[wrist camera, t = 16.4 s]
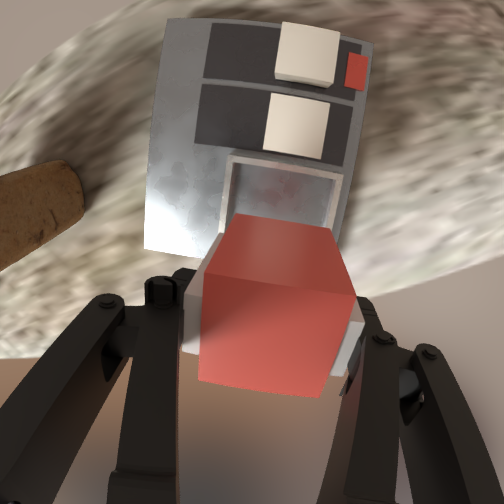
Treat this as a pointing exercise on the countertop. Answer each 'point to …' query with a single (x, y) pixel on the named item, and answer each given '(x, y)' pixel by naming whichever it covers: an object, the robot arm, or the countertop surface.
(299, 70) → the toggle
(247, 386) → the coral toy cube
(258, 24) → the panel
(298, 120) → the toggle
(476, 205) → the countertop surface
